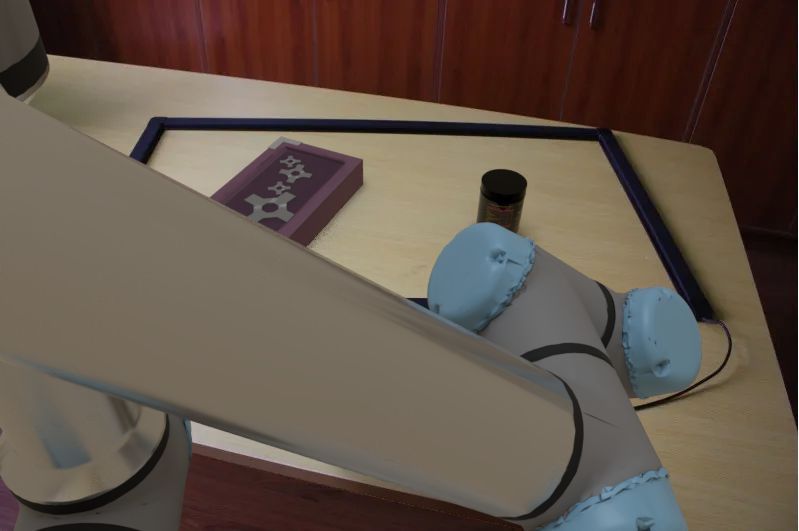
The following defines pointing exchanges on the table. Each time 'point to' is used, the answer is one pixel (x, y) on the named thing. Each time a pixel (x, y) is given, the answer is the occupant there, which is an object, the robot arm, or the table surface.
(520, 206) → the supplement container
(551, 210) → the table surface
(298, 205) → the book
